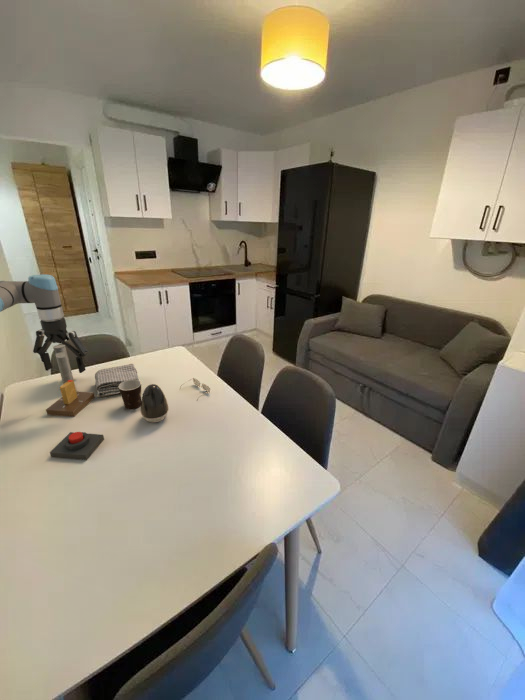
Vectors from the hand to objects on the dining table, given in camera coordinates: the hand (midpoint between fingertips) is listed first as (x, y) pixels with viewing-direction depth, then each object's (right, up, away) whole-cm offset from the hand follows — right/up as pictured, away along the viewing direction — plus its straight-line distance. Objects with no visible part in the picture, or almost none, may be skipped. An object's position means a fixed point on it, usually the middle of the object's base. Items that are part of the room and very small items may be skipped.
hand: (65, 370), depth 114 cm
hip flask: (-13, -9, +21) cm, 26 cm away
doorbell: (+15, -26, -15) cm, 33 cm away
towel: (+10, -9, +22) cm, 26 cm away
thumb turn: (-2, -13, +6) cm, 14 cm away
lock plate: (-2, -15, +7) cm, 17 cm away
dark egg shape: (+35, -19, +2) cm, 40 cm away
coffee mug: (+22, -16, +8) cm, 29 cm away
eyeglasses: (+46, -12, +20) cm, 52 cm away
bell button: (+15, -22, -17) cm, 32 cm away
